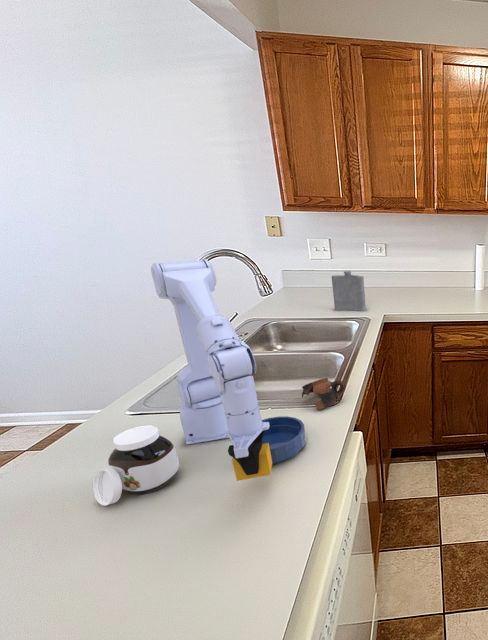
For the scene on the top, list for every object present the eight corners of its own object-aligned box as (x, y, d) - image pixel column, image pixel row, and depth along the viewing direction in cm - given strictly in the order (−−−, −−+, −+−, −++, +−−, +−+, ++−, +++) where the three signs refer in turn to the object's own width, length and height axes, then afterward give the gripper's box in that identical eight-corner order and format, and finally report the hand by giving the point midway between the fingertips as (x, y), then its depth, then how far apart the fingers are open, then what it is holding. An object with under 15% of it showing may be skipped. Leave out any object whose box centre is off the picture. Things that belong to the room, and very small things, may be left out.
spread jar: (188, 470, 86) (175, 424, 82) (149, 509, 75) (132, 458, 71) (131, 470, 85) (115, 423, 81) (83, 509, 75) (62, 458, 70)
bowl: (234, 473, 85) (230, 456, 84) (244, 437, 97) (241, 422, 96) (306, 459, 90) (303, 443, 89) (306, 427, 103) (304, 412, 101)
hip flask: (334, 310, 204) (329, 271, 197) (336, 308, 207) (332, 270, 200) (365, 311, 204) (362, 272, 197) (367, 308, 208) (364, 270, 201)
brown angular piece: (306, 415, 109) (295, 387, 109) (312, 413, 118) (302, 387, 118) (349, 398, 112) (339, 371, 112) (351, 397, 121) (342, 372, 121)
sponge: (236, 481, 78) (231, 460, 76) (240, 468, 81) (235, 448, 80) (270, 474, 80) (266, 453, 78) (272, 462, 83) (268, 442, 82)
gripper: (260, 423, 70) (272, 485, 75) (268, 388, 83) (278, 442, 88) (214, 430, 68) (230, 493, 73) (230, 393, 81) (242, 449, 85)
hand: (253, 466), depth 80 cm, fingers closed on sponge, 4 cm apart
